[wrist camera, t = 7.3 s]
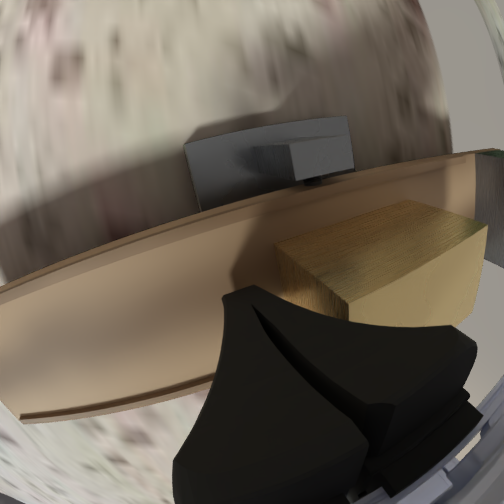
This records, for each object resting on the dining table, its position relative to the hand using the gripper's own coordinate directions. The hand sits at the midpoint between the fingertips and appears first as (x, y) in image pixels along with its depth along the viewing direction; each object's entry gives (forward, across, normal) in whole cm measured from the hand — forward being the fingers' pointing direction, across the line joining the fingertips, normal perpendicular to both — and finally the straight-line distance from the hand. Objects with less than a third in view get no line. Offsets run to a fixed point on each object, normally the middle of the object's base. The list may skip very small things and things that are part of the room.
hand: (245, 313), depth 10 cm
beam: (+1, -4, 0) cm, 4 cm away
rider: (+1, -5, 0) cm, 5 cm away
